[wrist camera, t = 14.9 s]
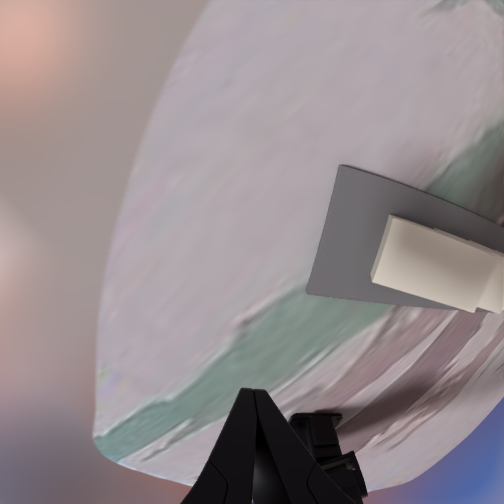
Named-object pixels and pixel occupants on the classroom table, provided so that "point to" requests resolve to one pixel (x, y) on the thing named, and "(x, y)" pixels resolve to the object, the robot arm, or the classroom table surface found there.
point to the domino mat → (371, 232)
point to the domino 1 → (432, 264)
